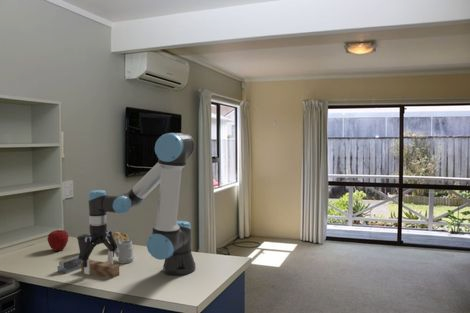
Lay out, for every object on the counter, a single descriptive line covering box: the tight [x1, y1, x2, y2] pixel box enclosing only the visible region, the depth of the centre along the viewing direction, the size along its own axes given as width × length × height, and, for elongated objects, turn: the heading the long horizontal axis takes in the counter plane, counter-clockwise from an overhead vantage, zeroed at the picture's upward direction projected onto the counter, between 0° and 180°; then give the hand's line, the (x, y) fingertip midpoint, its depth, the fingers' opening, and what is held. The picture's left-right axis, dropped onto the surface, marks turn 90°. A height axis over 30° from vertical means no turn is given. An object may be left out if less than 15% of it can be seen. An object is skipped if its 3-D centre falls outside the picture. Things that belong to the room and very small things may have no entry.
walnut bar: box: [80, 259, 120, 279], centre depth 179 cm, size 20×4×5 cm, turn 63°
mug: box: [114, 236, 135, 264], centre depth 196 cm, size 8×12×12 cm, turn 57°
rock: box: [112, 231, 130, 248], centre depth 216 cm, size 12×10×10 cm
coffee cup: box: [76, 234, 91, 253], centre depth 209 cm, size 8×8×10 cm
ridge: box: [57, 254, 91, 274], centre depth 186 cm, size 6×14×5 cm, turn 149°
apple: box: [47, 229, 69, 251], centre depth 216 cm, size 11×11×12 cm
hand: (99, 269), depth 179 cm, fingers open, 13 cm apart
